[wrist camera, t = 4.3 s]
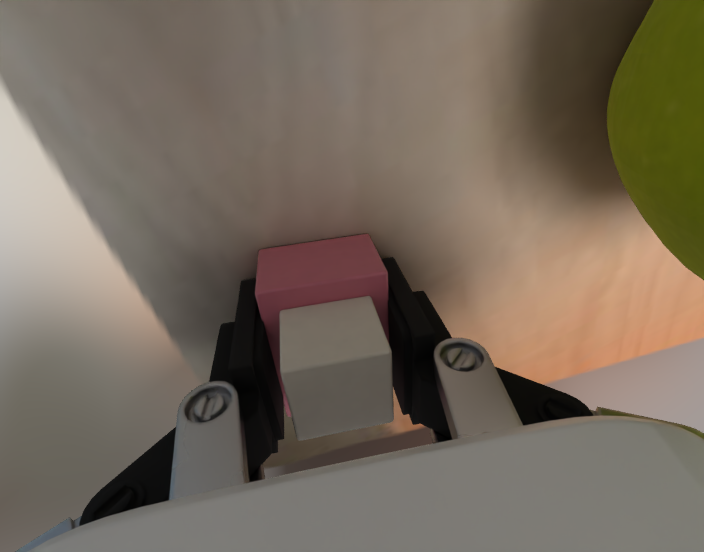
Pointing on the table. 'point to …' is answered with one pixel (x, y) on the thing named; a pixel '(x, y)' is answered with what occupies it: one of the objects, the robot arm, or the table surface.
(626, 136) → the fruit
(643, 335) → the table surface
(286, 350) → the pink and grey toy
